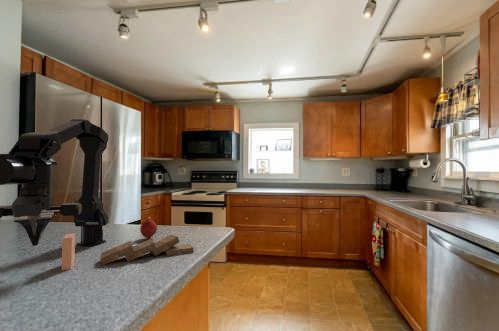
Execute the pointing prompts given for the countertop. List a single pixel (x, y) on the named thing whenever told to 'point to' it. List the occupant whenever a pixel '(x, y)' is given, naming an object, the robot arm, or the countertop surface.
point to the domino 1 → (116, 252)
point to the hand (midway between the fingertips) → (35, 245)
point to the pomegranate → (148, 228)
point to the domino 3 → (165, 244)
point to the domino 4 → (179, 249)
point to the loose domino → (68, 251)
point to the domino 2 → (141, 250)
